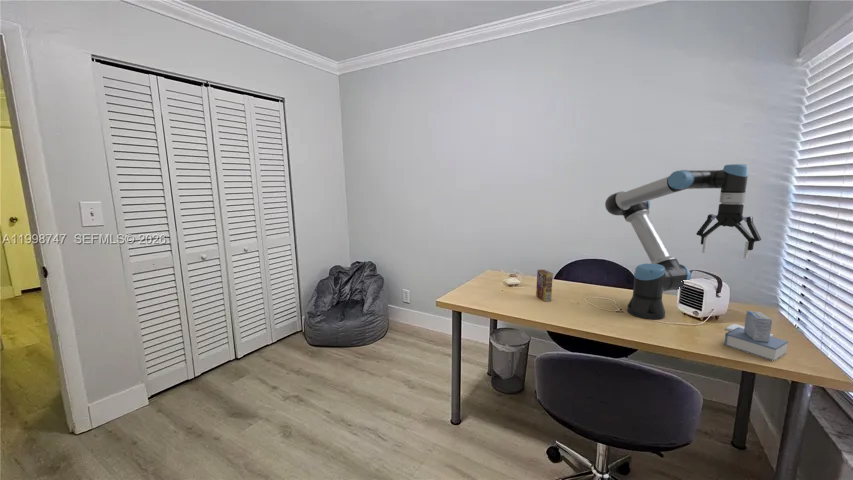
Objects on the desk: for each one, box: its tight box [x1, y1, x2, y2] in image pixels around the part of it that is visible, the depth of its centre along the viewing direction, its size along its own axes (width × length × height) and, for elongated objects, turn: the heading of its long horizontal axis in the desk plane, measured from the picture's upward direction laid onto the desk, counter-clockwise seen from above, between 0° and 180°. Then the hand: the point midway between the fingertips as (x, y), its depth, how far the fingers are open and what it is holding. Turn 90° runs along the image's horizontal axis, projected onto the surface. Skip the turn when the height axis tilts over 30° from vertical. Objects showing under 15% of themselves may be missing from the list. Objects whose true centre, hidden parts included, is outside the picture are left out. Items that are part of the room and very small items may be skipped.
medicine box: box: [744, 310, 773, 342], centre depth 125 cm, size 8×4×9 cm, turn 157°
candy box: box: [535, 269, 554, 302], centre depth 183 cm, size 9×4×15 cm, turn 13°
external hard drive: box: [725, 323, 774, 337], centre depth 140 cm, size 2×8×12 cm
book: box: [723, 327, 789, 362], centre depth 127 cm, size 14×11×5 cm
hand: (724, 255), depth 141 cm, fingers open, 13 cm apart
